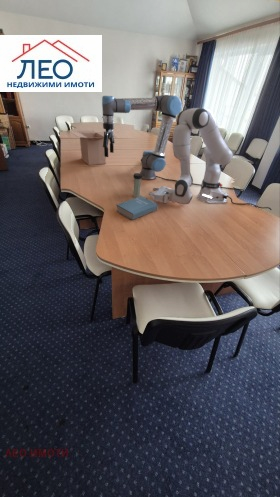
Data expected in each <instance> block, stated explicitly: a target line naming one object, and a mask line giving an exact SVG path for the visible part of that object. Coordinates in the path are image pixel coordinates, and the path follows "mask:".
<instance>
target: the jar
mask: <svg viewBox="0 0 280 497" xmlns="http://www.w3.org/2000/svg"><path fill="white" fill-rule="evenodd" d="M141 186H142V179H135V178H133V193H132V195H133V198H137V197H140V196H141Z"/></svg>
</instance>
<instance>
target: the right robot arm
mask: <svg viewBox="0 0 280 497" xmlns="http://www.w3.org/2000/svg"><path fill="white" fill-rule="evenodd" d="M193 130H198V131H199V134H200V136H201V139H202V141H203V144H204V145H205V147H204V149H203V155H204V158H205V159H204V160H205V169H204V175H203V178H202V181H201V183H200V184H201V186H200V190H199V192H198V194H197V196H196V198H197V199H198V201H200V202H204V203H206V204H209V205H214V204H227V201H228V200H227V199H229V200H230V202H231V204H234V205H244V206H245V205H251V206H254V207H255V208H258V209H269V210H270V211H273V210H272V208H271V207H270V206H264V207H263V206H258V205H256V204H253V203H251V202H250V203H249V202H243V203H241V202H240V203H238V202H234V201H233V199H232V197H231V196H229V193H227V192H225V191H224V190H223V188H220V187H223V184H222V182H220V177H221V173H222V169H221V167H220V166H227V165H228V164H230V163H231V162H232V161H233V157H234V153H233V151H232V150H231V149H230V148H229V146H228V144H227V143H226V141H225V139H224V138H223V136H222V134H221V131H220V127H219V126H218V122H217V120H216V118H215V116H214V114H213V112H212V110H210V109H206V108H203V107H192V108H188V109H183V110H181V111H180V113H179V114H178V115H177V116H176V125H175V126H174V128H173V133H172V153H173V157H174V158H176V159H177V160H178V161H179V163H180V164H179V165H180V175H179V178H178V179H177V182H176V181H175V183H174V188H171V187H168V186H164V185H161V186H160V187H153V188H152V189H153V191H154V192H153V191H149V192H148V195H149V196H151V197H152V199H153V201H157V202H161V203H163V204H168V203H176V204H180V205H190V203H191V201H192V199H193V196H194V195H193V193H192V191H191V186H192V185H193V184H192V183H194V178H193V175H192V174H191V162H190V161H191V148H192V140H191V138H192V137H191V134H192V131H193Z"/></svg>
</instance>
